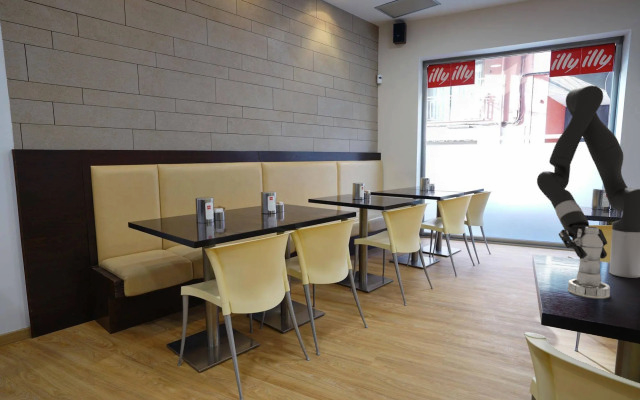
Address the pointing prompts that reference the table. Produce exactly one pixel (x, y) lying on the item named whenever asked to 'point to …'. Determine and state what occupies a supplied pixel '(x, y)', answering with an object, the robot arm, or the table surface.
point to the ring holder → (589, 290)
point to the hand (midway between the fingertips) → (593, 257)
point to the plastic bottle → (590, 258)
